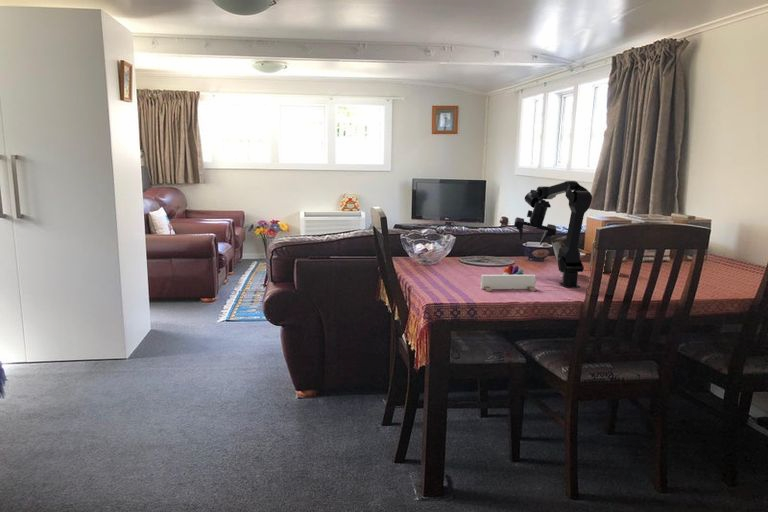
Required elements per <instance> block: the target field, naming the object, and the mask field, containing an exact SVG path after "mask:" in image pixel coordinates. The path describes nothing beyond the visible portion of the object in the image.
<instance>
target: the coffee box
mask: <svg viewBox="0 0 768 512" xmlns="http://www.w3.org/2000/svg"><path fill="white" fill-rule="evenodd" d="M566 238H567V235H565V236H561V237H558V238H555V239H551V240H550V241H551V245H552V248H553V252H554V255H555V258H556V262H557V263H558V257H557V256H558V253H559V249H560V248H563V247H564V246H565V243H566ZM560 273H561V274H562V276H563V272H560Z"/></svg>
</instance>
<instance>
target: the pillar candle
mask: <svg viewBox="0 0 768 512" xmlns="http://www.w3.org/2000/svg"><path fill="white" fill-rule="evenodd" d="M594 242H595V241H592V244H591V245H592V246H591V254H590V264H589V271H591V266H592V261H593V256H594ZM613 257H614V251H607V253H606V260H605V266H604V273H603V274H610V271H611V272H612V270H611V267H612V268H613V259H614V258H613Z"/></svg>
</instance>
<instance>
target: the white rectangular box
mask: <svg viewBox="0 0 768 512" xmlns="http://www.w3.org/2000/svg"><path fill="white" fill-rule="evenodd" d="M481 288H482V289H481ZM512 288H513V289H512ZM480 289H481V290H485V291H486V292H492V291H493V290H528V291H530V290H531V292H536V291H537V288H536V275H535V274H525V275H502V274H481V275H480Z"/></svg>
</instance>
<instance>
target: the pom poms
mask: <svg viewBox="0 0 768 512" xmlns="http://www.w3.org/2000/svg"><path fill="white" fill-rule="evenodd" d="M501 275H526V274H525V273H524V270H523V269H520V268H519V266H518V265H516V264H515V265H514V266H513V265H512V264H509V265H507V268H506V267H505V268H504V269H503V273H502V274H501Z"/></svg>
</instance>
